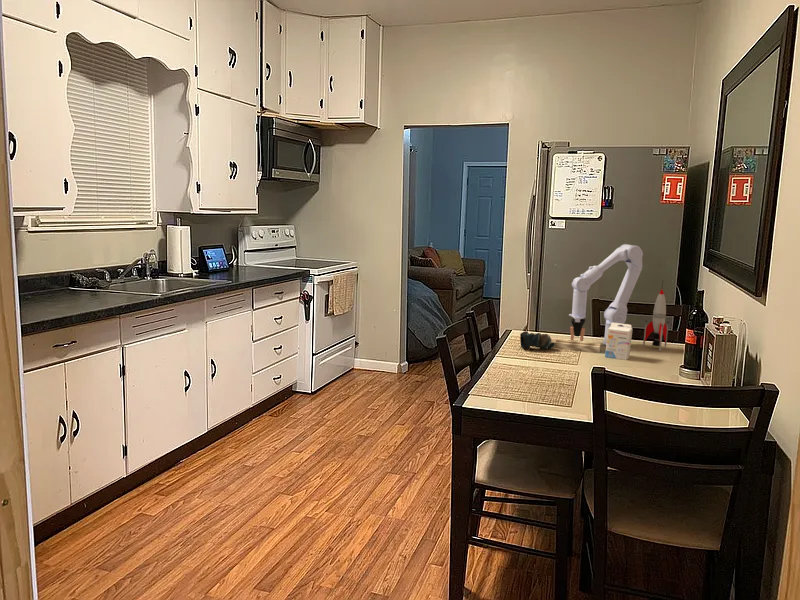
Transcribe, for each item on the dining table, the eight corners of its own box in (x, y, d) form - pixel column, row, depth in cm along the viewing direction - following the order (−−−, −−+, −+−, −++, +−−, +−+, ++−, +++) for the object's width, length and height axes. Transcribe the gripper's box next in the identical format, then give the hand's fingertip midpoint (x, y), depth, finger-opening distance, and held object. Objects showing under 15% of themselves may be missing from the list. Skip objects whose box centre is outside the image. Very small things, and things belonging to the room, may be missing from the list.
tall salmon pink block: (584, 340, 267) (585, 327, 266) (583, 341, 265) (584, 328, 264) (570, 339, 269) (570, 326, 268) (569, 339, 267) (570, 327, 266)
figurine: (516, 332, 259) (551, 329, 259) (518, 351, 258) (553, 349, 258) (519, 331, 251) (555, 328, 250) (521, 351, 250) (558, 348, 249)
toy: (665, 347, 266) (672, 279, 261) (671, 352, 258) (679, 281, 253) (642, 346, 267) (648, 278, 262) (648, 350, 258) (655, 280, 254)
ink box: (604, 357, 245) (607, 324, 243) (608, 352, 253) (610, 321, 250) (627, 360, 241) (630, 326, 239) (630, 355, 249) (633, 323, 247)
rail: (599, 349, 258) (600, 343, 258) (599, 353, 251) (599, 347, 251) (551, 344, 264) (551, 338, 264) (549, 347, 258) (550, 342, 258)
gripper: (570, 301, 273) (568, 331, 275) (568, 306, 259) (566, 338, 261) (587, 303, 270) (585, 333, 273) (585, 308, 257) (583, 339, 259)
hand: (577, 335), depth 267 cm, fingers closed on tall salmon pink block, 2 cm apart
